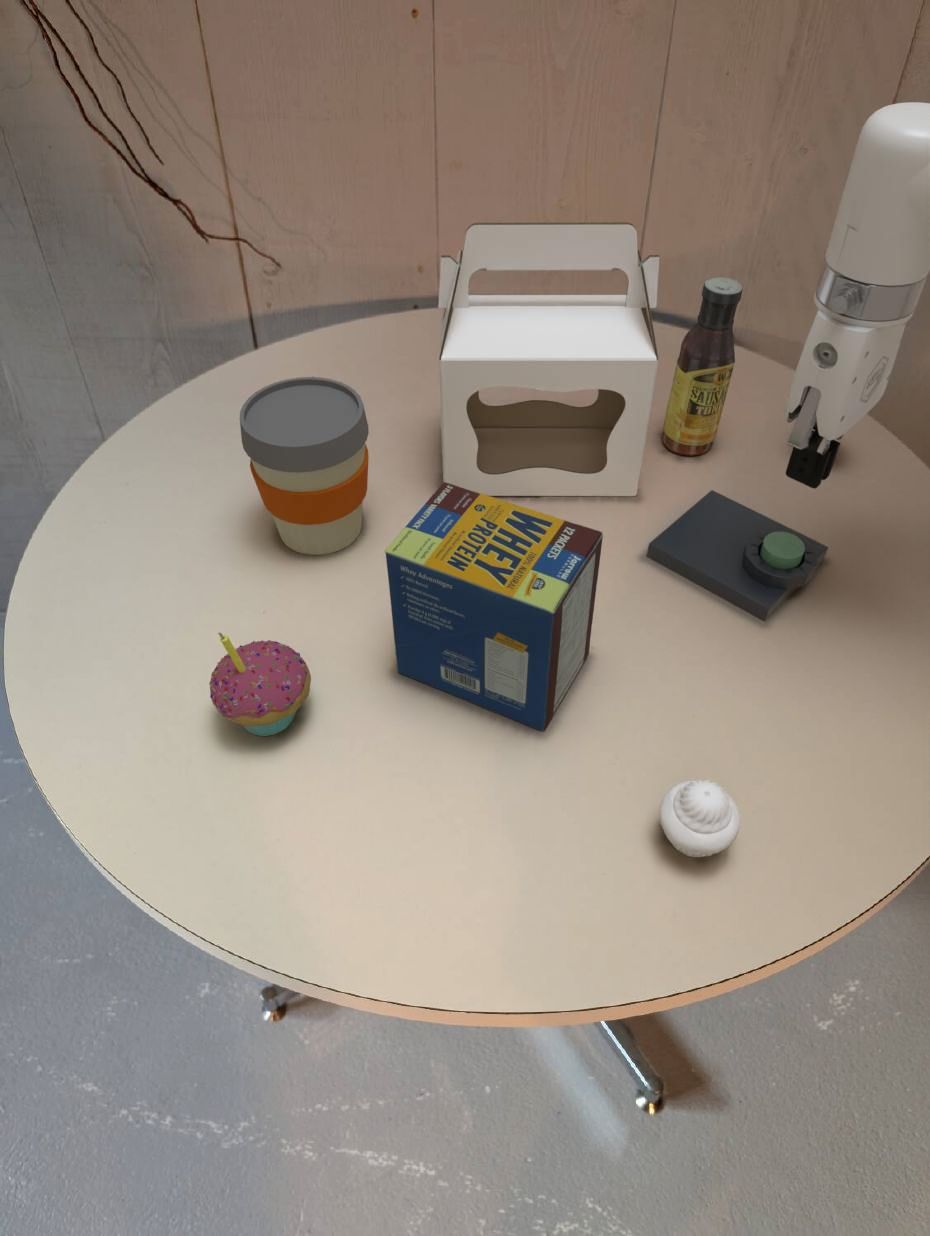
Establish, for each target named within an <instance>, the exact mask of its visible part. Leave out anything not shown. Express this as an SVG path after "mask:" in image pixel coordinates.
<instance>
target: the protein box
mask: <svg viewBox="0 0 930 1236" xmlns="http://www.w3.org/2000/svg"><path fill="white" fill-rule="evenodd" d="M603 537H604V534H603V532H602V531H600V530H597V529H594V528H591V527H588V526H584V525H581V524H578V523H575V522H574V523H573V522H570V521H568V520H564V519H563V518H559V517H556V516H554V515H553V516H552V515H550V514H546V513H543V512H541V511H537V510H534V509H531V508H527V507H524V506H521V505H517V504H515V503H513V502H508V501H505V500H502V499H499V498H496V497H494V496H487V495H484V494H480V493H477V492H473V491H470V490H467V489H464V488H461V487H458V486H455V485H452V484H449V483H446V482H444V483H443V482H442V484H440V486H439V487H438V488H437V489H436V490H435V492H433V494H432V495H431V496H430V497H429V499H428V500H427V501H425V503H424V504H423V506H422V507H421V508H420V509H419V510H418V512H417V513H416V514H415V515H414V516H413V517H412V518H411V519H410V521H408V523H407V524H406V525H405V526H404V528H403V529H402V530H400V532H399V533H398V534H397V536H396V537H395V538H394V539H393V540H392V542H390V544H389V545H388V546H387V547H386V548H385V550H384V553H385V559H386V571H387V579H388V590H389V597H390V598H389V599H390V609H391V619H392V630H393V639H394V640H393V641H394V649H395V650H394V651H395V660H396V671H397V672H398V674H401V675H404V676H407V677H408V678H411V679H413V680H415V681H418V682H421V683H424V684H426V685H429V686H431V687H433V688H436V689H438V690H441V691H444V692H445V693H448V694H451V695H453V696H455V697H458V698H460V699H463V700H465V701H466V702H467V701H468V702H470V703H473V704H475V705H477V706H480V707H483V708H484V709H487V710H490V711H492V712H495V713H497V714H499V715H502V716H504V717H506V718H509V719H510V720H514V721H516V722H518V723H521V724H524V725H526V726H528V727H531V728H533V729H536V730H539V731H542V732H544V731H545V730H546V729H547V727H548V726H549V724H550V722H551V721H552V719H553V717H554V715H555V713H556V712H557V710H558V709H559V707H560V705H561V703H562V701H563V700H564V698H565V697H566V695H567V693H568V691H569V689H570V687H571V686H572V684H573V683H574V681H575V679H576V677H577V675H578V674H579V672H580V670H581V669H582V667H583V665H584V664H585V662H586V660H587V658H588V656H589V653H590V646H591V645H590V644H591V636H592V627H593V621H594V619H593V618H594V610H595V603H596V594H597V586H598V578H599V572H600V571H599V570H600V564H601V562H600V561H601V555H602V546H603Z"/></svg>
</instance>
